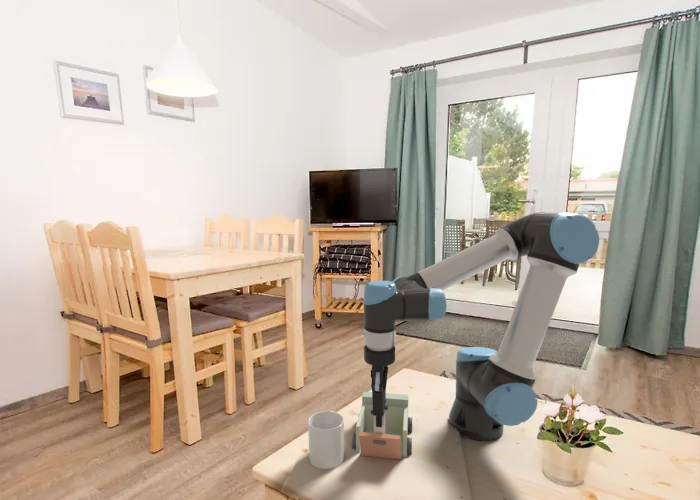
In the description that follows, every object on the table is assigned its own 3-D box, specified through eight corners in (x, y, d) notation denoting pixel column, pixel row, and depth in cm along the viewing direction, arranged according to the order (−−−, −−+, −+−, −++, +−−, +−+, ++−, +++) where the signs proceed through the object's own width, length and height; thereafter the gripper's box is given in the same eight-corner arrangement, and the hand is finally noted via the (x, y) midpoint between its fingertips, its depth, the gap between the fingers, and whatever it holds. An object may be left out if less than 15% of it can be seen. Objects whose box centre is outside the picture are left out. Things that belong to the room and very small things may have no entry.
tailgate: (401, 457, 99) (401, 435, 95) (401, 463, 98) (401, 441, 93) (360, 453, 101) (358, 431, 97) (360, 459, 100) (358, 437, 95)
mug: (340, 475, 94) (340, 431, 93) (305, 471, 95) (304, 428, 94) (348, 445, 106) (348, 406, 105) (316, 442, 107) (316, 403, 106)
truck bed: (412, 428, 114) (412, 395, 113) (411, 460, 99) (411, 423, 98) (359, 423, 116) (359, 391, 115) (351, 454, 102) (351, 418, 100)
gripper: (367, 335, 101) (367, 420, 104) (360, 354, 88) (360, 450, 92) (396, 336, 100) (396, 423, 103) (393, 357, 87) (392, 454, 90)
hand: (379, 436), depth 97 cm, fingers closed
